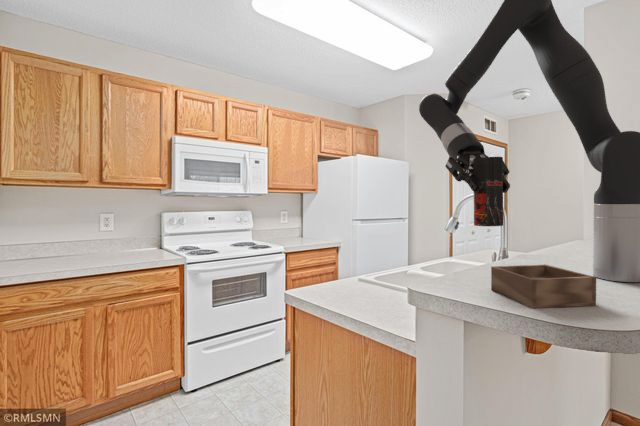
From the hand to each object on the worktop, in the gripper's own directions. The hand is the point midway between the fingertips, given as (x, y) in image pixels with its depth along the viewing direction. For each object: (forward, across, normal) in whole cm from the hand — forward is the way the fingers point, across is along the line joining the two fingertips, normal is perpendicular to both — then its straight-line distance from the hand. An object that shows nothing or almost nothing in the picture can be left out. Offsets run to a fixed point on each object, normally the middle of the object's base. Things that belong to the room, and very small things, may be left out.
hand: (493, 190), depth 75 cm
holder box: (+22, +2, +7) cm, 23 cm away
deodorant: (+4, 0, +7) cm, 8 cm away
